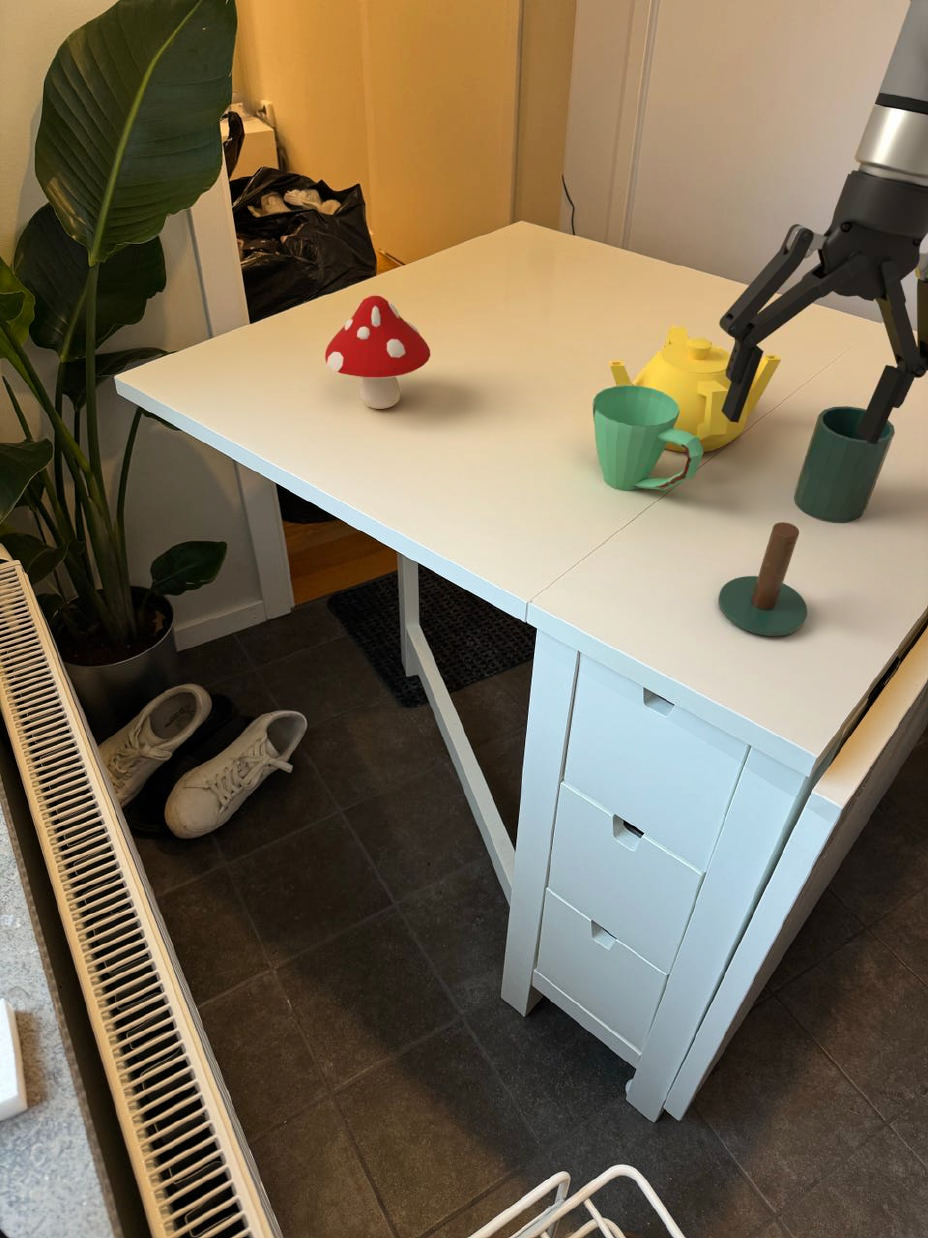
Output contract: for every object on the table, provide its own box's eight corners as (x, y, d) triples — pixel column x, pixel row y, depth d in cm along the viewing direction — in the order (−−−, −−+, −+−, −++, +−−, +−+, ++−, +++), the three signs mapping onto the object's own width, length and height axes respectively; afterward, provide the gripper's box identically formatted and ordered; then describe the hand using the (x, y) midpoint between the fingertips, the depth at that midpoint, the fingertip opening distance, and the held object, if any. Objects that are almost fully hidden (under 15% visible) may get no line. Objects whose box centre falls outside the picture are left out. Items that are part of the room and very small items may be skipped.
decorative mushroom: (356, 440, 114) (347, 327, 104) (310, 396, 123) (298, 288, 113) (449, 413, 120) (450, 303, 110) (399, 373, 128) (396, 267, 119)
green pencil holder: (879, 511, 104) (910, 431, 97) (829, 530, 101) (858, 449, 94) (827, 478, 109) (854, 400, 102) (779, 495, 106) (803, 415, 99)
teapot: (659, 386, 127) (673, 303, 119) (769, 424, 119) (792, 338, 111) (596, 431, 117) (607, 344, 109) (711, 476, 109) (732, 385, 101)
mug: (566, 476, 108) (575, 401, 102) (620, 449, 113) (632, 376, 107) (659, 530, 100) (675, 453, 94) (713, 500, 105) (732, 424, 99)
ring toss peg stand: (822, 623, 89) (854, 540, 82) (758, 651, 86) (785, 567, 79) (762, 575, 94) (787, 494, 88) (699, 600, 91) (720, 518, 85)
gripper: (1011, 197, 76) (902, 431, 87) (736, 141, 72) (660, 393, 84) (1066, 212, 70) (941, 462, 81) (768, 151, 66) (681, 422, 77)
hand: (798, 428), depth 82 cm, fingers open, 13 cm apart
